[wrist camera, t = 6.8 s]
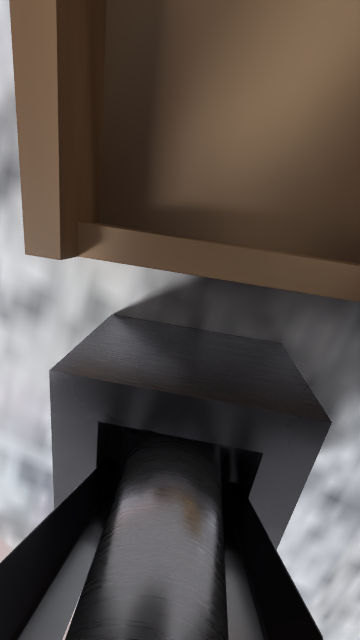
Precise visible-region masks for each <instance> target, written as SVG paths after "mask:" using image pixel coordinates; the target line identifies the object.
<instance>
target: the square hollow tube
mask: <svg viewBox="0 0 360 640" xmlns="http://www.w3.org/2000/svg"><path fill="white" fill-rule="evenodd" d="M49 374H50V402H51V429H52V456H53V484H54V509H55V508H56V507H57V506H58V505H59V504H60V503H61V502H62V501H63V500H64V499H65V498H66V497H67V496H68V495H69V494H70V493H71V492H72V491H74V490H75V489H76V488H77V487H78V486H79V485H80V484H81V483H82V482H83V481H84V480H85V479H86V478H87V477H88V476H89V475H90V474H91V473H92V472H93V471H94V470H95V469H96V468H97V467H98V466H99V465H100V464H101V463H102V462H103V461H104V460H105V459H106V458H114V459H118V460H120V469H119V480H118V485H119V482H120V480H121V477H122V474H123V471H124V468H125V465H126V462H127V459H128V456H129V453H130V451H131V448H132V445H133V442H134V439H135V436H136V433H137V430H138V429H141V430H146V431H151V432H156V433H161V434H167V435H172V436H177V437H182V438H188V439H193V440H198V441H203V442H209V443H214V444H219V447H220V468H221V489H222V495H223V492H224V488H225V485H226V482H227V481H232V482H237V483H240V484H241V485H242V487H243V489H244V491H245V493H246V495H247V497H248V498H249V500H250V502H251V504H252V506H253V508H254V510H255V511H256V513H257V515H258V517H259V519H260V521H261V523H262V524H263V526H264V528H265V530H266V532H267V534H268V536H269V538H270V539H271V541H272V543H273V545H274V547H275V549H276V550H277V547H278V545H279V543H280V541H281V538H282V536H283V534H284V531H285V529H286V527H287V524H288V522H289V520H290V518H291V515H292V513H293V511H294V508H295V506H296V504H297V501H298V499H299V497H300V495H301V492H302V490H303V488H304V485H305V483H306V481H307V478H308V476H309V474H310V472H311V469H312V467H313V465H314V462H315V460H316V458H317V455H318V453H319V451H320V449H321V446H322V444H323V442H324V439H325V437H326V435H327V433H328V430H329V428H330V426H331V423H332V422H331V420H330V419H329V417H328V416H327V414H326V413H325V411H324V409H323V408H322V406H321V405H320V403H319V402H318V400H317V399H316V397H315V395H314V394H313V392H312V391H311V389H310V388H309V386H308V385H307V383H306V381H305V380H304V378H303V377H302V375H301V374H300V372H299V371H298V369H297V367H296V366H295V364H294V363H293V361H292V360H291V358H290V357H289V355H288V353H287V352H286V350H285V349H284V347H283V346H282V344H281V343H275V342H269V341H263V340H257V339H251V338H246V337H240V336H234V335H228V334H222V333H216V332H211V331H205V330H199V329H193V328H187V327H181V326H176V325H170V324H164V323H158V322H152V321H146V320H141V319H135V318H129V317H123V316H117V315H111V316H110V317H108V318H107V319H106V320H105V321H104V322H103V323H102V324H101V325H100V326H98V327H97V328H96V329H95V330H94V331H93V332H92V333H91V334H90V335H88V336H87V337H86V338H85V339H84V340H83V341H82V342H81V343H80V344H78V345H77V346H76V347H75V348H74V349H73V350H72V351H71V352H70V353H68V354H67V355H66V356H65V357H64V358H63V359H62V360H61V361H59V362H58V363H57V364H56V365H55V366H54V367H53V368H52V369H51V370H49ZM118 485H117V488H118ZM117 488H116V491H117ZM115 494H116V492H115ZM114 497H115V495H114ZM113 500H114V498H113ZM112 503H113V502H112ZM111 506H112V505H111Z"/></svg>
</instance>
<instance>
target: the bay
mask: <svg viewBox="0 0 360 640" xmlns="http://www.w3.org/2000/svg"><path fill="white" fill-rule="evenodd" d="M9 1H10V17H11V33H12V49H13V65H14V81H15V97H16V113H17V129H18V145H19V161H20V177H21V193H22V209H23V225H24V241H25V254H26V255H32V256H39V257H45V258H51V259H57V260H63V259H68V258H72V257H77V256H78V257H85V258H91V259H97V260H103V261H109V262H115V263H122V264H128V265H134V266H140V267H146V268H153V269H159V270H165V271H171V272H177V273H183V274H190V275H196V276H202V277H208V278H214V279H220V280H227V281H233V282H239V283H245V284H251V285H257V286H264V287H270V288H276V289H282V290H288V291H295V292H301V293H307V294H313V295H319V296H325V297H332V298H338V299H344V300H350V301H356V302H360V0H9Z"/></svg>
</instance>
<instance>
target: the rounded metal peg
mask: <svg viewBox="0 0 360 640" xmlns="http://www.w3.org/2000/svg"><path fill="white" fill-rule="evenodd" d="M65 640H229V637H228V616H227V595H226V574H225V553H224V532H223V510H222V489H221V468H220V447H219V444H214V443H209V442H203V441H198V440H193V439H188V438H182V437H177V436H172V435H167V434H161V433H156V432H151V431H146V430H141V429H138V430H137V433H136V436H135V439H134V442H133V445H132V448H131V451H130V453H129V456H128V459H127V462H126V465H125V468H124V471H123V474H122V477H121V480H120V482H119V485H118V488H117V491H116V494H115V497H114V500H113V503H112V506H111V508H110V511H109V514H108V517H107V520H106V523H105V526H104V529H103V532H102V535H101V537H100V540H99V543H98V546H97V549H96V552H95V555H94V558H93V561H92V563H91V566H90V569H89V572H88V575H87V578H86V581H85V584H84V587H83V589H82V592H81V595H80V598H79V601H78V604H77V607H76V610H75V613H74V616H73V618H72V621H71V624H70V627H69V630H68V633H67V636H66V639H65Z"/></svg>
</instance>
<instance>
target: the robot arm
mask: <svg viewBox="0 0 360 640" xmlns="http://www.w3.org/2000/svg"><path fill="white" fill-rule="evenodd" d="M119 469H120V460H118V459H114V458H106V459H105V460H104V461H103V462H102V463H101V464H100V465H99V466H98V467H97V468H96V469H95V470H94V471H93V472H92V473H91V474H90V475H89V476H88V477H87V478H86V479H85V480H84V481H83V482H82V483H81V484H80V485H79V486H78V487H77V488H76V489H75V490H74V491H72V492H71V493H70V494H69V495H68V496H67V497H66V498H65V499H64V500H63V501H62V502H61V503H60V504H59V505H58V506H57V507H56V508H55V509H54V510H53V511H52V512H51V513H50V514H49V515H48V516H47V517H46V518H45V519H44V520H43V521H42V522H41V523H40V524H39V525H38V526H37V527H36V528H35V529H34V530H33V531H32V532H31V533H30V534H29V535H28V536H27V537H26V538H25V539H24V540H23V541H22V542H21V543H20V544H19V545H18V546H17V547H16V548H15V549H14V550H13V551H12V552H11V553H10V554H9V555H8V556H7V557H6V558H5V559H4V560H3V561H2V562H1V563H0V640H62V639H63V636H64V634H65V631H66V629H67V626H68V624H69V621H70V619H71V616H72V614H73V611H74V609H75V606H76V604H77V601H78V599H79V596H80V594H81V591H82V589H83V586H84V584H85V581H86V578H87V575H88V572H89V569H90V566H91V563H92V561H93V558H94V555H95V552H96V549H97V546H98V543H99V540H100V537H101V535H102V532H103V529H104V526H105V523H106V520H107V517H108V514H109V511H110V508H111V505H112V502H113V498H114V495H115V492H116V488H117V485H118V480H119ZM222 510H223V532H224V553H225V574H226V595H227V616H228V637H229V640H323V636H322V634H321V633H320V631H319V629H318V627H317V625H316V623H315V621H314V619H313V618H312V616H311V614H310V612H309V610H308V608H307V606H306V605H305V603H304V601H303V599H302V597H301V595H300V593H299V592H298V590H297V588H296V586H295V584H294V582H293V580H292V579H291V577H290V575H289V573H288V571H287V569H286V567H285V565H284V564H283V562H282V560H281V558H280V556H279V554H278V552H277V551H276V549H275V547H274V545H273V543H272V541H271V539H270V538H269V536H268V534H267V532H266V530H265V528H264V526H263V524H262V523H261V521H260V519H259V517H258V515H257V513H256V511H255V510H254V508H253V506H252V504H251V502H250V500H249V498H248V497H247V495H246V493H245V491H244V489H243V487H242V485H241V484H240V483H237V482H232V481H227V482H226V485H225V488H224V492H223V495H222Z"/></svg>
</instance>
